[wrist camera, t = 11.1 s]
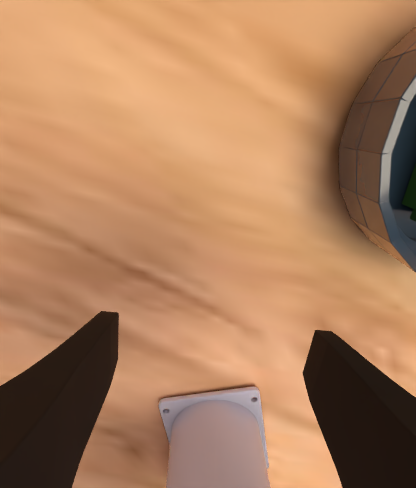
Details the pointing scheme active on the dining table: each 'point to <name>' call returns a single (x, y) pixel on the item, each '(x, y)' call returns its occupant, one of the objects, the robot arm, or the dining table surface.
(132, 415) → the dining table surface
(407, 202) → the green box
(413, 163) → the bowl
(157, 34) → the dining table surface
